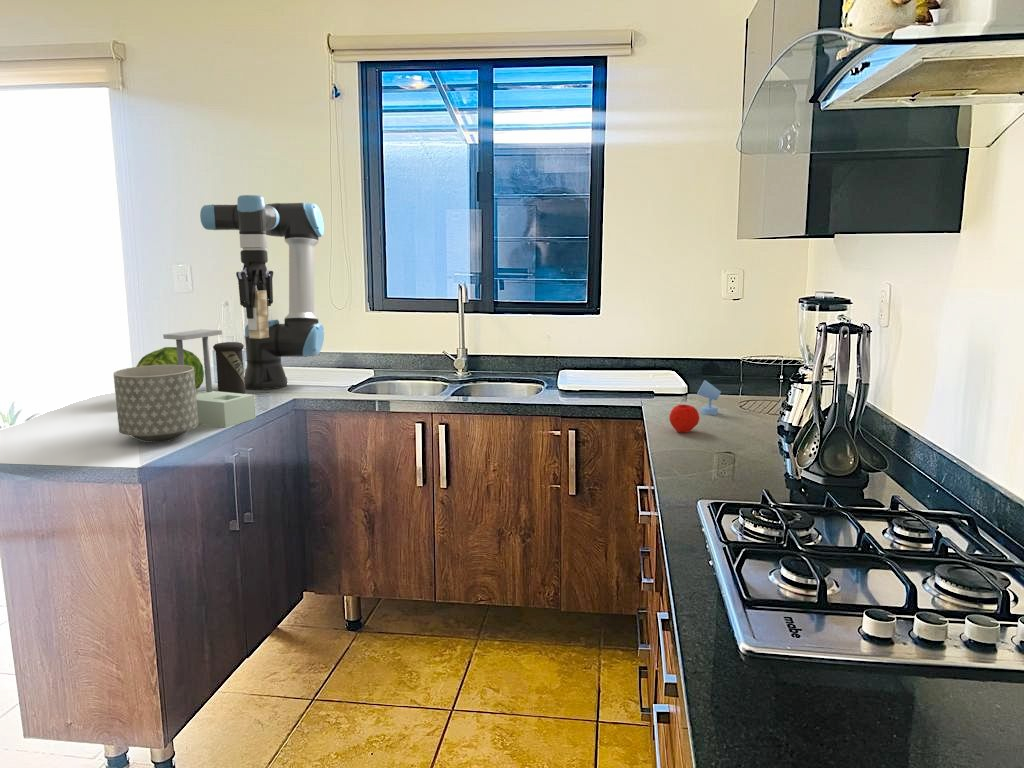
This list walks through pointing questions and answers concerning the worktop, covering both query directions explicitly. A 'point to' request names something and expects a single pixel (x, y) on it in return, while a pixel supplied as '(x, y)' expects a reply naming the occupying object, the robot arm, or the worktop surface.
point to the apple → (684, 418)
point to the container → (230, 367)
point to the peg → (260, 315)
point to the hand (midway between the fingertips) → (258, 328)
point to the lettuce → (174, 361)
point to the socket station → (215, 404)
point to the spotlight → (710, 393)
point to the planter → (156, 401)
